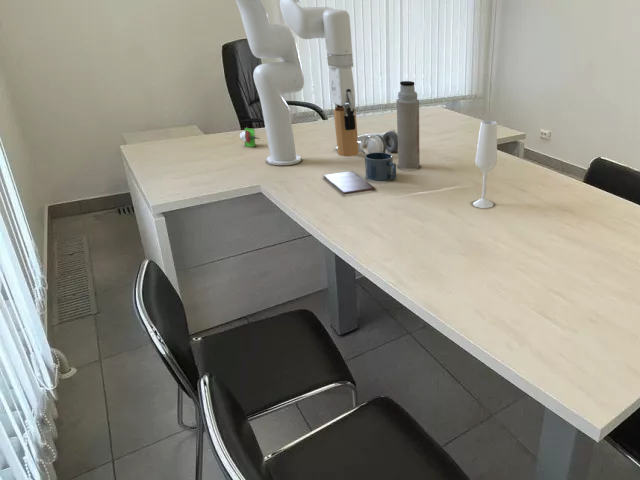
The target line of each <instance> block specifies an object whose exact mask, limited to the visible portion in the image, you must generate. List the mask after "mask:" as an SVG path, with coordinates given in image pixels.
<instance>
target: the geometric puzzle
mask: <svg viewBox="0 0 640 480" xmlns="http://www.w3.org/2000/svg"><path fill="white" fill-rule="evenodd" d="M255 133H256V130H255V128H249V127H244V128H243V130H242V131H241V132H240V134H239V138H240V140H241V141H243V142H244V146H245V147H248V148H250V147H251V148H256V140H257V139H258V140H261V138H260V137H257V135H258V136H259V134H257V133H256V134H255Z"/></svg>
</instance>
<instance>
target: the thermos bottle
mask: <svg viewBox="0 0 640 480" xmlns="http://www.w3.org/2000/svg"><path fill="white" fill-rule="evenodd" d="M399 84H400V91H398V92H397V93H398V94H397V99H396V128H397V129H396V130H397V131H396V132H397V135H398V151H397V159H398V160H397V164H398V168H401V169H404V170H405V169H406V170H413V169H418V168H419V167H420V166H421V165H420V162H421V161H420V100H419V99H418V92H417V91H416V90H415V82H414V81H411V80H402V81H400V82H399Z"/></svg>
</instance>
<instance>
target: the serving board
mask: <svg viewBox="0 0 640 480" xmlns="http://www.w3.org/2000/svg"><path fill="white" fill-rule="evenodd" d="M322 176H323V178H324V179H325V180H326V181H327V182H329V183H330V184H331V185H332V186H333V187H334V188H336V189H337V190H338V191H339V192H340V193H342V195H349V194H357V193H362V192H369V191H375V190H376V187H375V186H373V185H372V184H371V183H369V182H368V181H367V180H365V179H364V178H362V177H361V176H360V175H359V174H357V173H356V172H355V171H353V170H352V171H344V172H336V173H329V174H323V175H322Z"/></svg>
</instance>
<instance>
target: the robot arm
mask: <svg viewBox="0 0 640 480" xmlns="http://www.w3.org/2000/svg"><path fill="white" fill-rule="evenodd" d="M234 1H235V3H236V6H237V7H238V8H237V9H238V10H239V14H240V17H241V22H242V24H243V28H244V32H245V36H246V39H247V43H248V46H249V49H250V51H251V53H252V55H253V56H254V57H255V58H257V59H261V60H264V59H265V60H266V59H277V58H279V59H280V61H278V62H277V61H275V62H266V63H261V64H258V65H257V66H256V67H255V68H254V70H253V74H252V76H253V77H252V78H253V82H254V85H255V88H256V91H257V94H258V98H259V101H260V106H261V110H262V112H261V113H262V116H263V117H262V118H263V123H264V128H265V134H266V140H267V146H268V151H269V155H268V156H267V157H266V162H267V164H269V165H273V166H291V165H296V164H299V163H300V162H301V161H302V157H301V155H299V154H297V150H296V143H295V136H294V130H293V123H292V117H291V116H292V115H291V110H290V107H289V105H288V103H287V102H286V100H285V99H284V98H283V96H282V95H285V94H293V93H297V92H298V93H299V92H300V91H302V90H303V88H304V86H305V76H304V71H303V67H302V62H301V59H300V53H299V50H298V45H297V41H296V39H295V36H294V34H295V35H296V36H297V37H299V38H300V39H303V40H316V39H317V40H318V39H324V42H325V50H326V59H327V67H328V84H329V99H330V101H331V102H332V103H333V104H334V109H335V108H339V107H343V108H344V112H345V116H344V121H345V129H346V130H354V129H355V117H354V115H355V113H354V110H355V109H356V108H355V107H356V93H355V92H356V91H355V84H354V82H355V81H354V75H353V70H352V68H354V59H353V58H354V57H353V44H352V31H351V18H350V14H349V12H348V11H347V10H345V9H335V8H332V7H328V6H306V7H305V6H304V7H302V6H300V5H299V3H300V2H301V1H302V0H279V8H280V12H281V15H282V18H283V20H284V22H285V23H286V24H282V23H271V22H270V19H269V15H268V11H267V8H266V6H265V4H264V2H263V1H262V0H234ZM293 33H294V34H293ZM346 107H348V109H347V108H346Z"/></svg>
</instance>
